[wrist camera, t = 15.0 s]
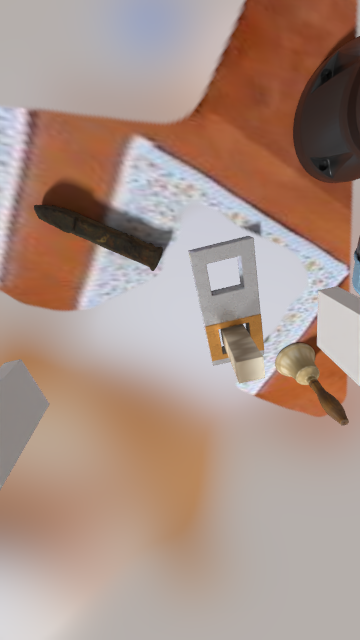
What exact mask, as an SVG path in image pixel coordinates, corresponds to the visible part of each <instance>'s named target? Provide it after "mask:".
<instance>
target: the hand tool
mask: <svg viewBox="0 0 360 640" xmlns="http://www.w3.org/2000/svg"><path fill="white" fill-rule="evenodd" d="M34 210H35V212H36V214H37V216H38V217H39V219H41V220H43V221H45V222H47V223H48V224H50V225H53V226H55V227H57V228H58V229H60V230H62V231H64V232H67V233H72V234H74V235H77V236H79V237H82V238H84V239H86V240H89V241H91V242H93V243H95V244H98V245H100V246H102V247H104V248H106V249H109V250H111V251H113V252H116V253H118V254H120V255H123V256H125V257H127V258H129V259H132V260H134V261H137V262H139V263H142V264H144V265H146V266H148V267H150V269H151V270H152V271H154V270H155V268H156V267H157V265H158V263H159V261H160V258H161V255H162V250H163V247H161V246H160V247H155V246H154V245H153V244H152V243H149V244H148V243H146V242H144V241H142V240H140V239H138V238H135V237H134V236H132V235H130V236H129V235H128V234H127V233H123V232H121V231H118V230H116V229H113V228H111V227H108V226H106V225H104V224H101V223H99V222H97V221H94V220H92V219H90V218H87V217H85V216H83V215H81V214H79V213H76V212H74V211H71V210H68V209H65V208H60V207H56V206H53V205H52V206H47V205H34Z"/></svg>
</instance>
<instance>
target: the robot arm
mask: <svg viewBox="0 0 360 640" xmlns="http://www.w3.org/2000/svg"><path fill="white" fill-rule="evenodd" d="M293 138H294V146H295V150H296V154H297V157H298V159H299V161H300V163H301V165H302V166H303V168H304V169H305V170H306V171H307V172H308V173H309V174H310V175H311V176H312V177H314V178H316V179H318V180H320V181H323V182H328V183H339V182H348V181H353V180H356V179H359V178H360V36H359V37H357V38H355V39H353V40H351V41H349V42H348V43H346V44H345V45H343V46H342V47H340V48H339V49H338V50H337V51H336V52H334V53H333V54H332V55H331V56H330V57H329V58H328V59H326V60H325V61H324V62H323V63H322V64H321V65H320V67H319V68H318V69H317V70H316V71H315V73H314V74H313V75H312V77H311V78H310V80H309V81H308V83H307V85H306V87H305V88H304V91H303V93H302V95H301V97H300V100H299V103H298V106H297V109H296V113H295V119H294V127H293ZM354 260H355V265H354V271H353V278H352V282H353V286H354V289H355V290H356V291H357V293H358V294H359V295H360V237H359V242H358V246H357V249H356V251H355V253H354ZM317 346H318V347H319V348H320V349H321V350H322V351H323V352H324V353H325V354H326V355H327V356H328V357H330V358H331V359H332V360H333V361H334V362H335V363H336V364H337V365H338V366H339V367H340V368H341V369H342V370H343V371H344V372H345V373H346V374H347V375H348V376H349V377H350V378H352V379H353V380H354V381H355V382H356V383H357V384H358V385H359V386H360V298H359V297H357V296H355V295H353V294H351V293H349V292H347V291H345V290H343V289H341V288H339V287H337V286H336V287H332V288H327V289H323V290H319V291H318V321H317ZM48 406H49V403H48V401H47V399H46V398H45V396H44V395H43V393H42V391H41V390H40V388H39V387H38V385H37V384H36V382H35V380H34V379H33V377H32V376H31V374H30V373H29V371H28V369H27V368H26V366H25V365H24V363H23V362H22V360H21V359H19V360H15V361H11V362H6V363H4V364H3V365H2V366H1V367H0V489H1V488H2V486H3V484H4V482H5V481H6V479H7V477H8V476H9V474H10V472H11V470H12V469H13V467H14V465H15V463H16V461H17V460H18V458H19V456H20V454H21V453H22V451H23V449H24V448H25V446H26V444H27V442H28V441H29V439H30V437H31V435H32V433H33V432H34V430H35V428H36V427H37V425H38V423H39V421H40V419H41V418H42V416H43V414H44V413H45V411H46V409H47V408H48Z"/></svg>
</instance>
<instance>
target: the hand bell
mask: <svg viewBox="0 0 360 640" xmlns="http://www.w3.org/2000/svg"><path fill="white" fill-rule="evenodd" d="M314 361H315V352H314V350H313V348H312V347H311V346H309V345H307V344H304V343H296V344H292V345H289V346H287V347H285V348H284V349H283V350H282V351H281V352H280V353H279V354H278V356H277V358H276V361H275V366H276V369H277V370H278V372H279V373H281V374H282V375H285V376H290V377H293V378H294V379H295V380H296V381H297V382H298V383H300V384H303V385H308V384H309V386H310V387H311V388H312V389H313V390H314V391H315V393H316V394H317V396H318V398H319V401H320V403H321V405H322V407H323V409H324V410H325V411H326V413H327V414H328V415H329V416H331V417H332V418H333V419H335V420H336V421H337V422H339V423H340V424H341V425H346V424H348V422H349V421H348V419H347V416H346V414H345V411H344V409H343V407H342V405H341V404H340V403H339V401H338V400H337V399H336V398H335V397H334V396H332V395H331V394H329V393H328V392H327V391H325V390H324V388H323V387H322V386H321V384H320V383H319V381H318V380H317V379H318V377H319V370H318V368H317V367H316V365H315V363H314Z"/></svg>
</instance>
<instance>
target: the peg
mask: <svg viewBox="0 0 360 640" xmlns="http://www.w3.org/2000/svg"><path fill="white" fill-rule="evenodd" d="M221 335H222V340H223V344H224V347H225V349H226V352H227V354H228V357H229V359H230V361H231V364H232V366H233V369H234V371H235V373H236V376H237V379H238V381H239V383H243V382H248V381H253V380H257V379H262V378H265V370H264V360H263V356H262V354H261V352H260V351H259V349H258V348H257V346H256V344H255V343H254V341H253V340H252V338H251V336H250V335H249V333H248V332H247V330H246V328H245V327H244V325H243V324H240V325H235V326H231V327H226V328H222V329H221Z"/></svg>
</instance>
